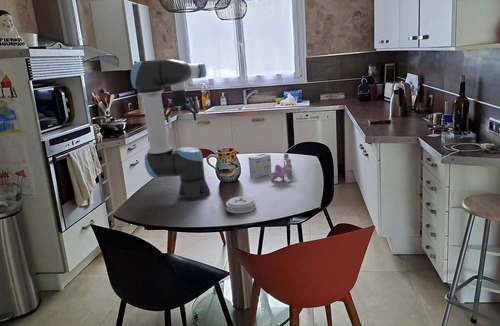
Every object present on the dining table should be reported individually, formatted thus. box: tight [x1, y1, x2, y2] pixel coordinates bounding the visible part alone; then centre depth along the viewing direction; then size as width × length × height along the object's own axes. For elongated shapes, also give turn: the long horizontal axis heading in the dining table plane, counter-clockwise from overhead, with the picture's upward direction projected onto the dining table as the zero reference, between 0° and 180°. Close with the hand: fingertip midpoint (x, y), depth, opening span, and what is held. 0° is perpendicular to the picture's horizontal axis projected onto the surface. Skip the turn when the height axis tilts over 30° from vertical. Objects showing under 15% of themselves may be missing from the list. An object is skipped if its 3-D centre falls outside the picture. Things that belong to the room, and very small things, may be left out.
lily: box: [269, 164, 293, 184], centre depth 217 cm, size 12×12×10 cm
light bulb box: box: [247, 153, 273, 178], centre depth 232 cm, size 11×7×11 cm, turn 128°
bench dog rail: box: [283, 152, 293, 178], centre depth 232 cm, size 16×3×9 cm, turn 0°
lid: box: [225, 195, 257, 214], centre depth 182 cm, size 13×13×5 cm
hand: (182, 127), depth 245 cm, fingers open, 13 cm apart
